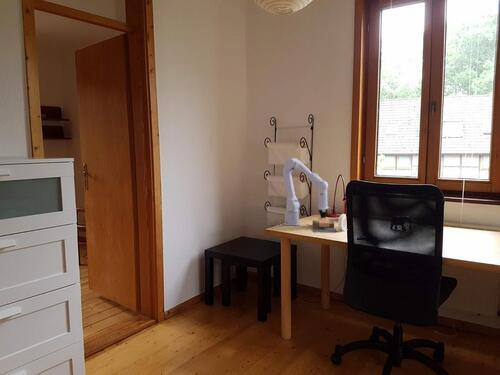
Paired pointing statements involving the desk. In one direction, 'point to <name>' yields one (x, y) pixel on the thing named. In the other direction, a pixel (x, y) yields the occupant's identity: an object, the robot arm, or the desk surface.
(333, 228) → the mat
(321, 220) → the tile
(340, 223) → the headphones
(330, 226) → the deck
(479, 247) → the desk surface
